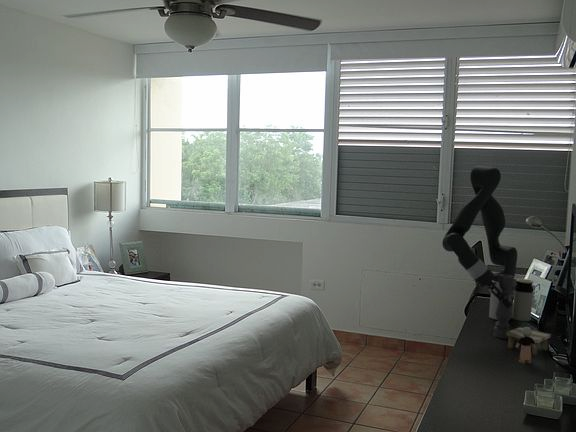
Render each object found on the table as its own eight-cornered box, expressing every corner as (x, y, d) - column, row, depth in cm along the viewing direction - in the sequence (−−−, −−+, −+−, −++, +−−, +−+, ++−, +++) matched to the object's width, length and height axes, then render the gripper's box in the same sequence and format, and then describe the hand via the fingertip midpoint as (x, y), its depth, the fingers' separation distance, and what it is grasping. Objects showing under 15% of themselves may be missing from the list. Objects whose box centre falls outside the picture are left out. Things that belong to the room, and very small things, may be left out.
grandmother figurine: (528, 359, 218) (531, 324, 217) (536, 363, 214) (539, 327, 213) (511, 361, 215) (514, 326, 214) (519, 364, 211) (522, 329, 210)
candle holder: (509, 339, 242) (515, 277, 240) (493, 337, 244) (498, 276, 242) (509, 335, 248) (514, 275, 246) (493, 333, 250) (498, 273, 248)
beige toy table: (518, 342, 239) (519, 327, 239) (549, 349, 231) (550, 334, 230) (505, 347, 231) (506, 332, 230) (536, 355, 222) (538, 339, 222)
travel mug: (533, 322, 272) (536, 282, 270) (515, 321, 272) (518, 281, 271) (526, 317, 280) (530, 279, 278) (509, 316, 280) (512, 278, 278)
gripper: (488, 270, 239) (519, 303, 237) (486, 264, 252) (514, 296, 251) (473, 281, 240) (503, 315, 239) (472, 275, 254) (500, 307, 252)
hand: (509, 305), depth 245 cm, fingers closed on candle holder, 4 cm apart
